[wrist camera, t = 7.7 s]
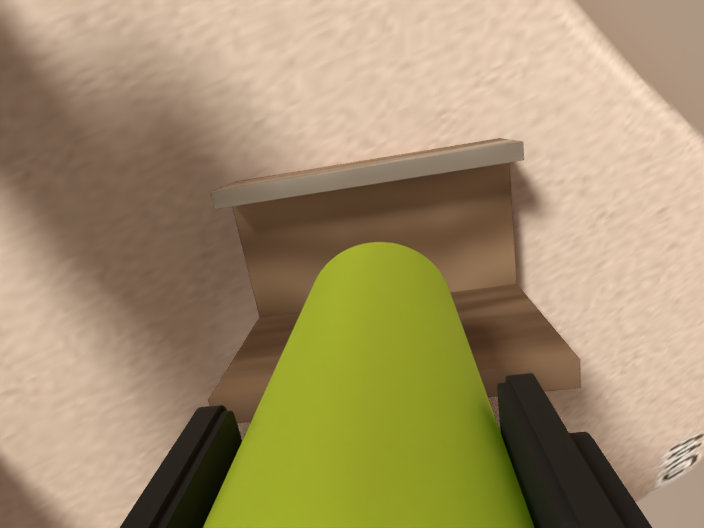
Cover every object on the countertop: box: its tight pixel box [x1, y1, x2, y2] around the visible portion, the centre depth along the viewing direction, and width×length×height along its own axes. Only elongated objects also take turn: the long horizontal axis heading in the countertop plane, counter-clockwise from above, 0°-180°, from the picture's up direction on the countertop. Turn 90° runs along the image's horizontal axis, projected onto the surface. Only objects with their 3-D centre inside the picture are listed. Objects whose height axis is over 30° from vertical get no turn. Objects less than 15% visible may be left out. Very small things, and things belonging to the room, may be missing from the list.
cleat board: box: [208, 138, 581, 423], centre depth 26 cm, size 11×18×12 cm, turn 99°
